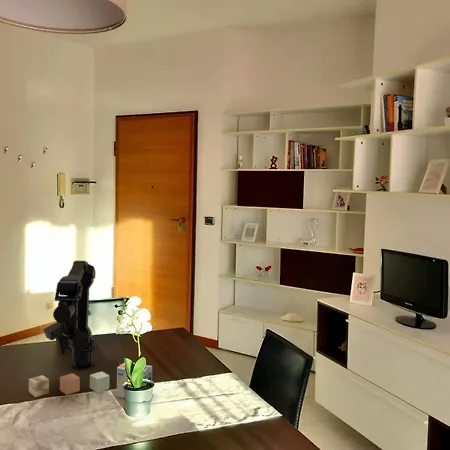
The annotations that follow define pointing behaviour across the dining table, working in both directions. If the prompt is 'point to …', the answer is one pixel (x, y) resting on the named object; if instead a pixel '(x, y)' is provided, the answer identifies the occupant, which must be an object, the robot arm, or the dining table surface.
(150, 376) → the light bulb box
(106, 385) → the sage block
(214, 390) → the dining table surface
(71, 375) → the terracotta block
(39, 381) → the birch block
